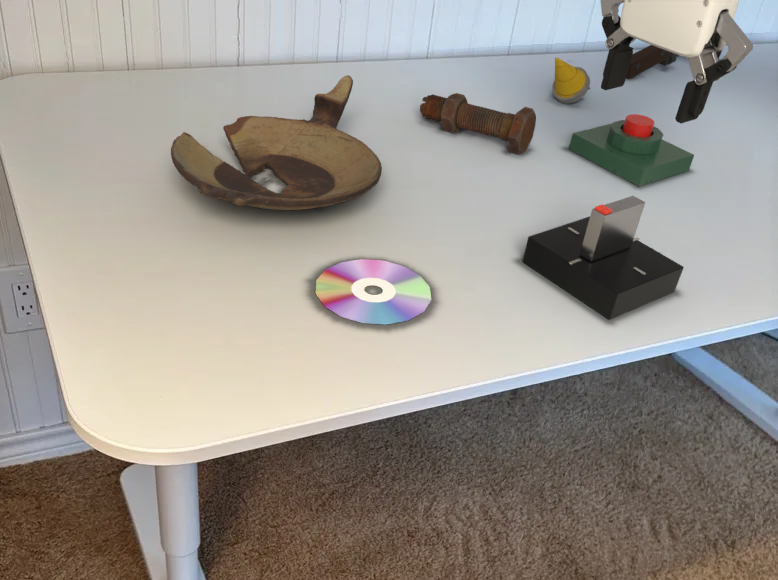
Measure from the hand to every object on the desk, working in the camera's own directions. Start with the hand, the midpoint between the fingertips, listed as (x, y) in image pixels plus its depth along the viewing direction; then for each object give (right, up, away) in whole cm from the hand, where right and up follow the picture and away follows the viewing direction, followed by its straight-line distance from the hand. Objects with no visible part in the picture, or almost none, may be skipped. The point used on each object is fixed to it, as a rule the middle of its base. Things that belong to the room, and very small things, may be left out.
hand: (647, 103), depth 86 cm
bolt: (-15, +4, +23) cm, 28 cm away
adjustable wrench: (+21, +26, +52) cm, 62 cm away
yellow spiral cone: (0, +13, +35) cm, 38 cm away
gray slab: (-5, -16, -4) cm, 17 cm away
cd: (-29, -21, -7) cm, 36 cm away
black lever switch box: (-6, -18, -2) cm, 19 cm away
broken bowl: (-37, -7, +8) cm, 39 cm away
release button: (+5, +3, +19) cm, 20 cm away
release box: (+5, +1, +22) cm, 22 cm away
